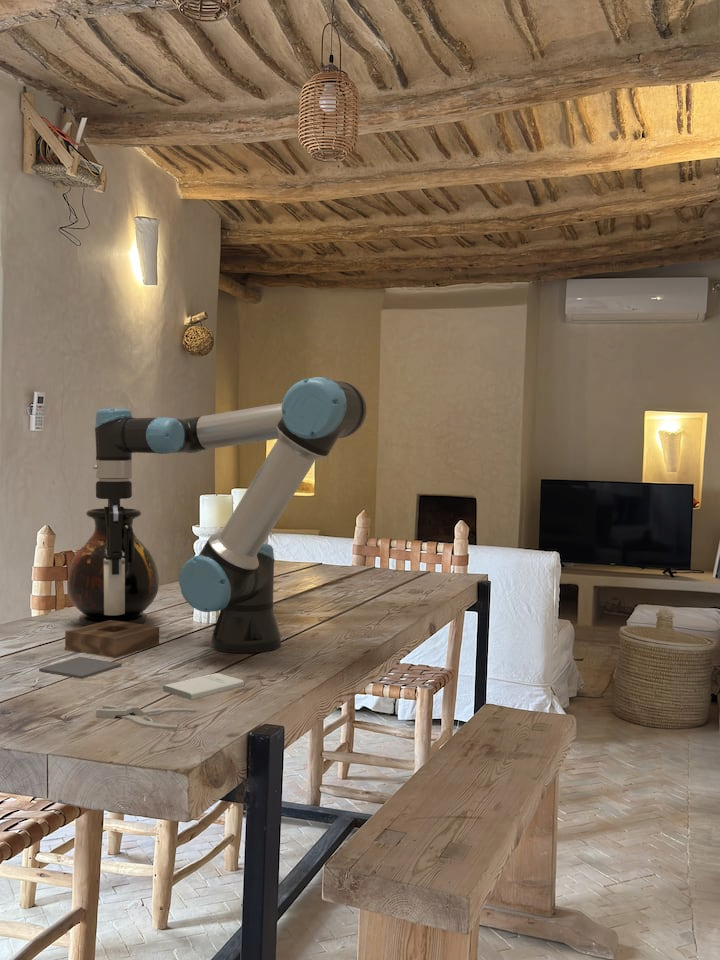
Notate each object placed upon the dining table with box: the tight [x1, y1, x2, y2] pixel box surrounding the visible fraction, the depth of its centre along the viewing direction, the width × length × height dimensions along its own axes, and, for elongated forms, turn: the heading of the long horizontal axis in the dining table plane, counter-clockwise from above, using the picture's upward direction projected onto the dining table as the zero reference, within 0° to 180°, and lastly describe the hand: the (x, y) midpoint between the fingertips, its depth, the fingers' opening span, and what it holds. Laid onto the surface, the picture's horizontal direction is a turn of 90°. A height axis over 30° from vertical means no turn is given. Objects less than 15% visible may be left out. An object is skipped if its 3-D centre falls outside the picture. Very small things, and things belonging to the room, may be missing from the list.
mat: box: [38, 656, 123, 679], centre depth 179 cm, size 11×11×1 cm
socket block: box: [64, 620, 160, 658], centre depth 197 cm, size 14×14×4 cm
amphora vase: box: [66, 507, 160, 627], centre depth 220 cm, size 22×22×28 cm
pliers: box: [95, 704, 197, 730], centre depth 149 cm, size 10×2×15 cm
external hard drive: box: [162, 672, 245, 701], centre depth 166 cm, size 2×8×12 cm
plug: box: [103, 558, 125, 615], centre depth 196 cm, size 4×4×12 cm
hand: (114, 587), depth 196 cm, fingers closed on plug, 4 cm apart
